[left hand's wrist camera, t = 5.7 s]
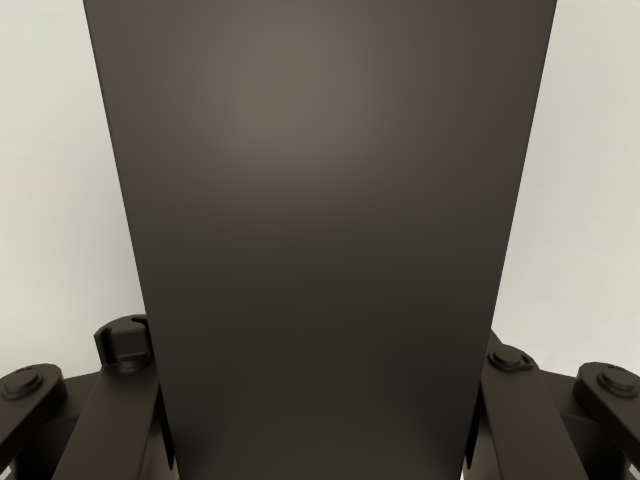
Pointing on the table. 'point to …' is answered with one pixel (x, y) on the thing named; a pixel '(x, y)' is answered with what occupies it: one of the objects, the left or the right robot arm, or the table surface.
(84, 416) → the left robot arm
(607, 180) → the table surface
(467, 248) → the bar
